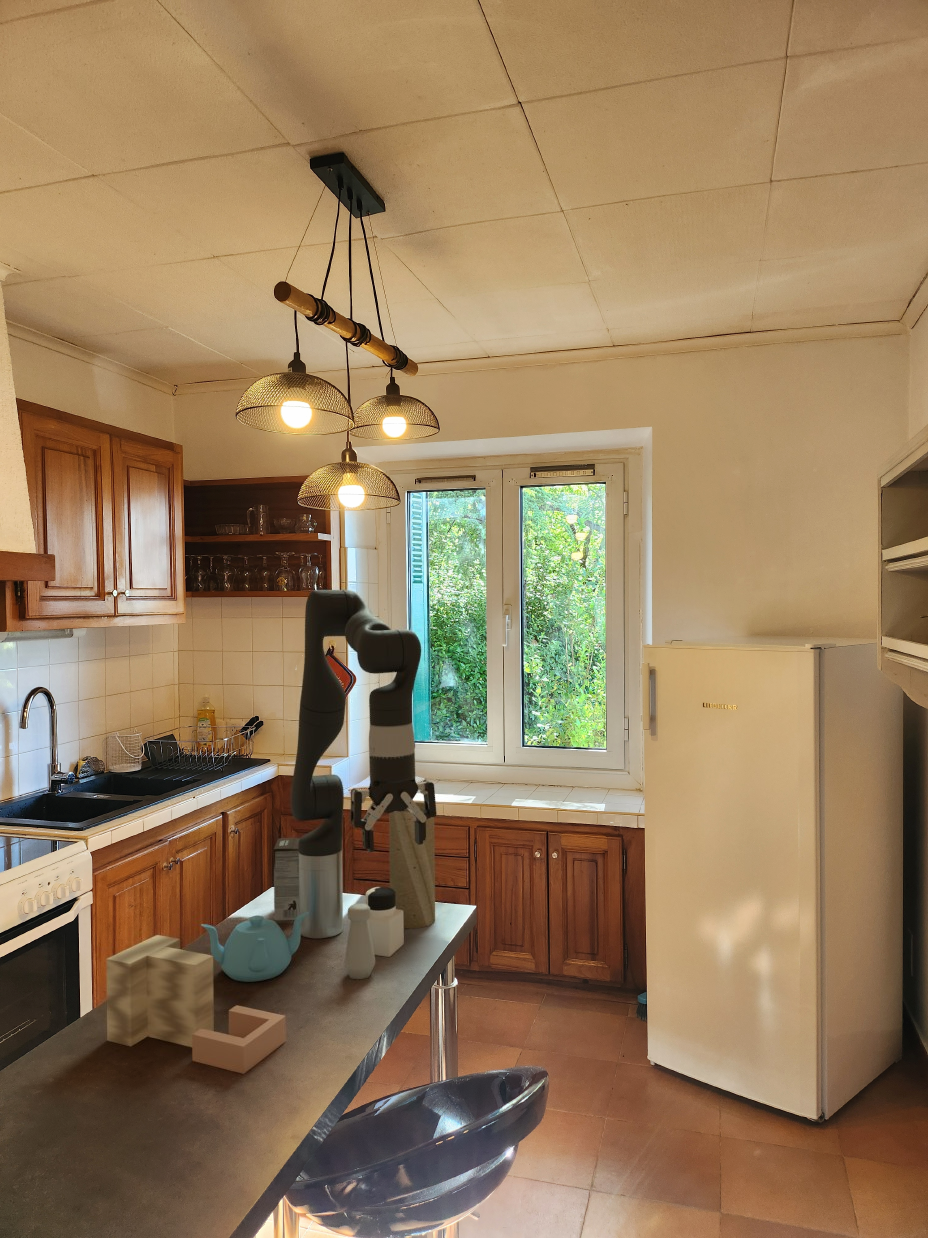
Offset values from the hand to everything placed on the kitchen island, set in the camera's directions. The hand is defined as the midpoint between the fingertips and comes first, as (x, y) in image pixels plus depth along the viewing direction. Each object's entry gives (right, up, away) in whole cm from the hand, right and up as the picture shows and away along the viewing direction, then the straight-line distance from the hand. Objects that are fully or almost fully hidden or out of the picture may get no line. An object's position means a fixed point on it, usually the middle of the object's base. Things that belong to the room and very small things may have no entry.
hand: (394, 847), depth 140 cm
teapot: (-28, -29, +19) cm, 45 cm away
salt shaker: (-8, -29, +18) cm, 35 cm away
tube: (0, -29, +47) cm, 55 cm away
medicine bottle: (-5, -29, +31) cm, 42 cm away
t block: (-36, -29, -4) cm, 47 cm away
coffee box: (-28, -29, +52) cm, 66 cm away
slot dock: (-24, -29, -9) cm, 39 cm away
